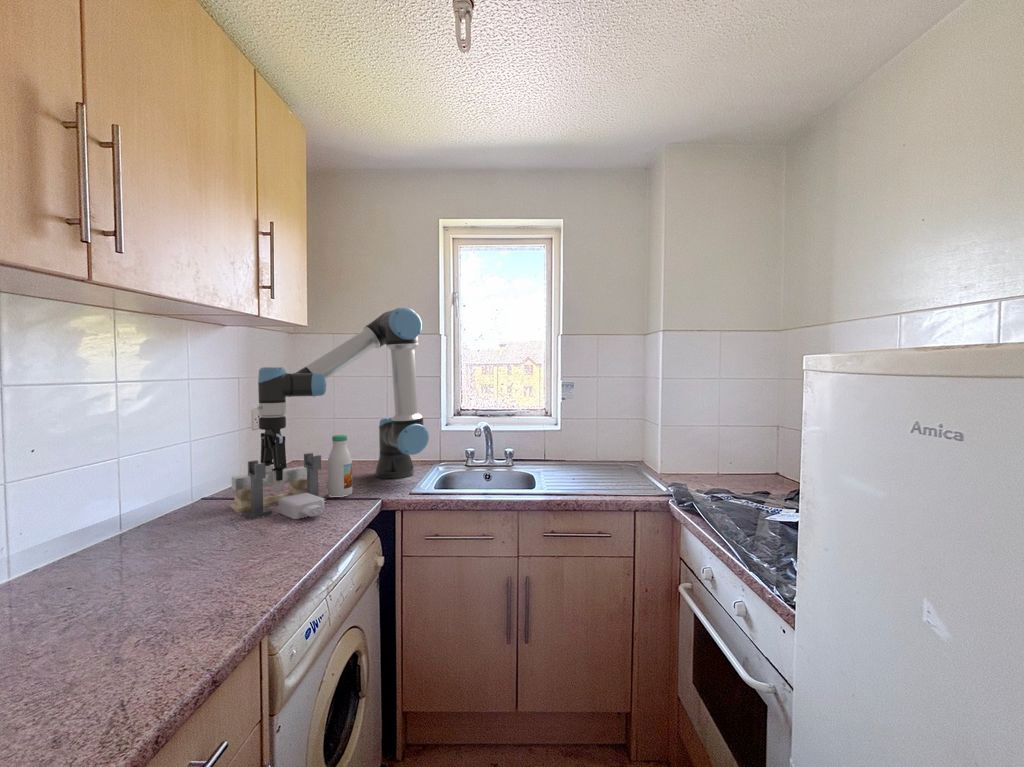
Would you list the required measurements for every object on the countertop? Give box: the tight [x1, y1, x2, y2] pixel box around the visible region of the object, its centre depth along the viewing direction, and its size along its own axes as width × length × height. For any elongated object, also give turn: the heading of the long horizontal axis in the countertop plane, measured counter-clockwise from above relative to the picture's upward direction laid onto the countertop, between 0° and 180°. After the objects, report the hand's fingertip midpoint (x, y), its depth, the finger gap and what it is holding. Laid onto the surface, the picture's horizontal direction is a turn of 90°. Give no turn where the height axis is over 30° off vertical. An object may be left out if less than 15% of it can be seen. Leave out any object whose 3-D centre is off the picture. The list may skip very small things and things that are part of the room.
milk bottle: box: [327, 434, 353, 496], centre depth 147 cm, size 8×8×20 cm
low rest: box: [229, 479, 307, 513], centre depth 140 cm, size 22×7×6 cm, turn 138°
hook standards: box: [241, 452, 328, 520], centre depth 133 cm, size 22×7×15 cm, turn 138°
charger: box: [277, 493, 326, 520], centre depth 127 cm, size 5×9×15 cm
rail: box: [231, 465, 307, 491], centre depth 139 cm, size 22×4×4 cm, turn 138°
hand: (273, 488), depth 140 cm, fingers open, 7 cm apart
